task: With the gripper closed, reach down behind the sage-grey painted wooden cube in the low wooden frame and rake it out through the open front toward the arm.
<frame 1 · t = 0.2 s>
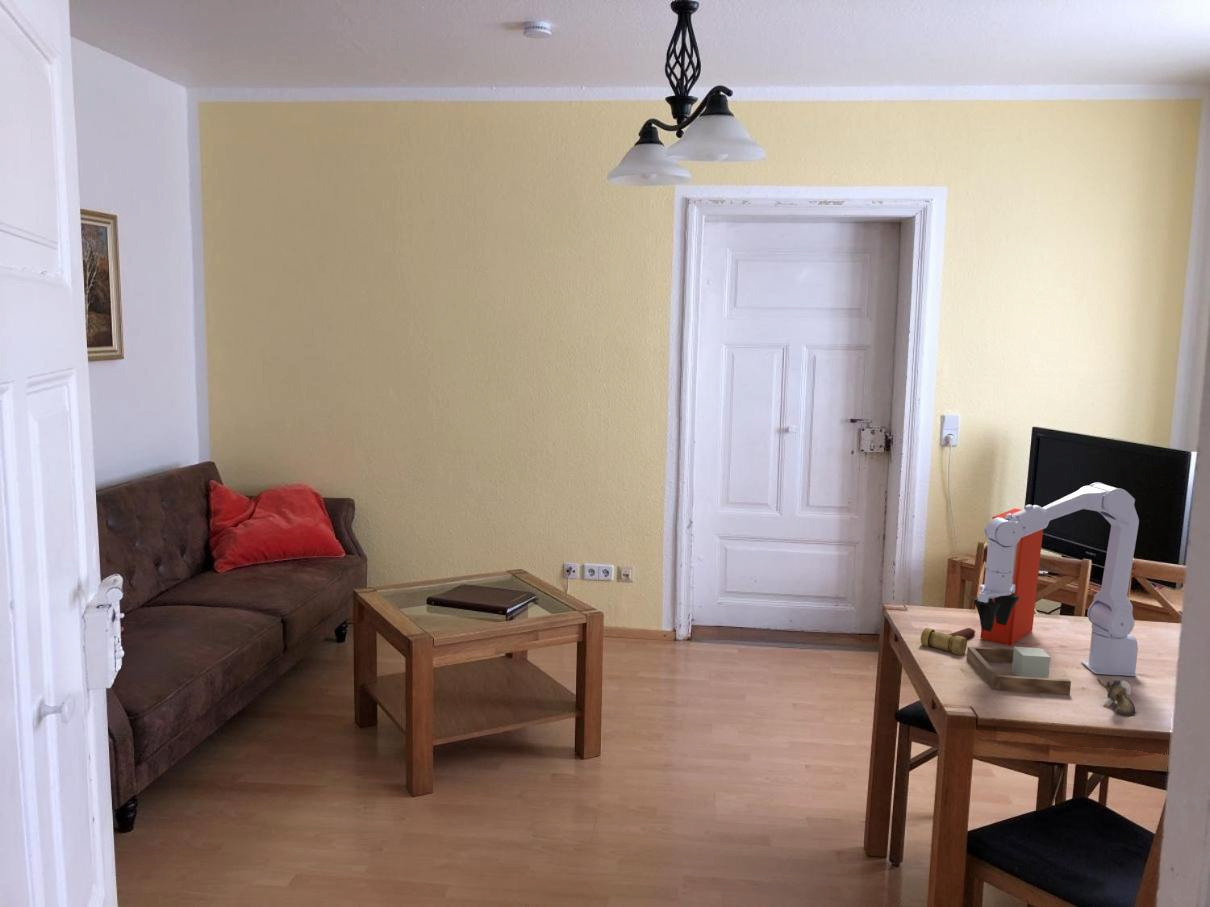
hand: (993, 627, 224), 10 cm above the table, tool pointing down, fingers open, 7 cm apart
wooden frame: (1018, 675, 220), on the table
gavel: (956, 644, 244), on the table
cube: (1029, 676, 220), on the table
file binder: (1007, 636, 250), on the table
eagle figurine: (1115, 709, 203), on the table
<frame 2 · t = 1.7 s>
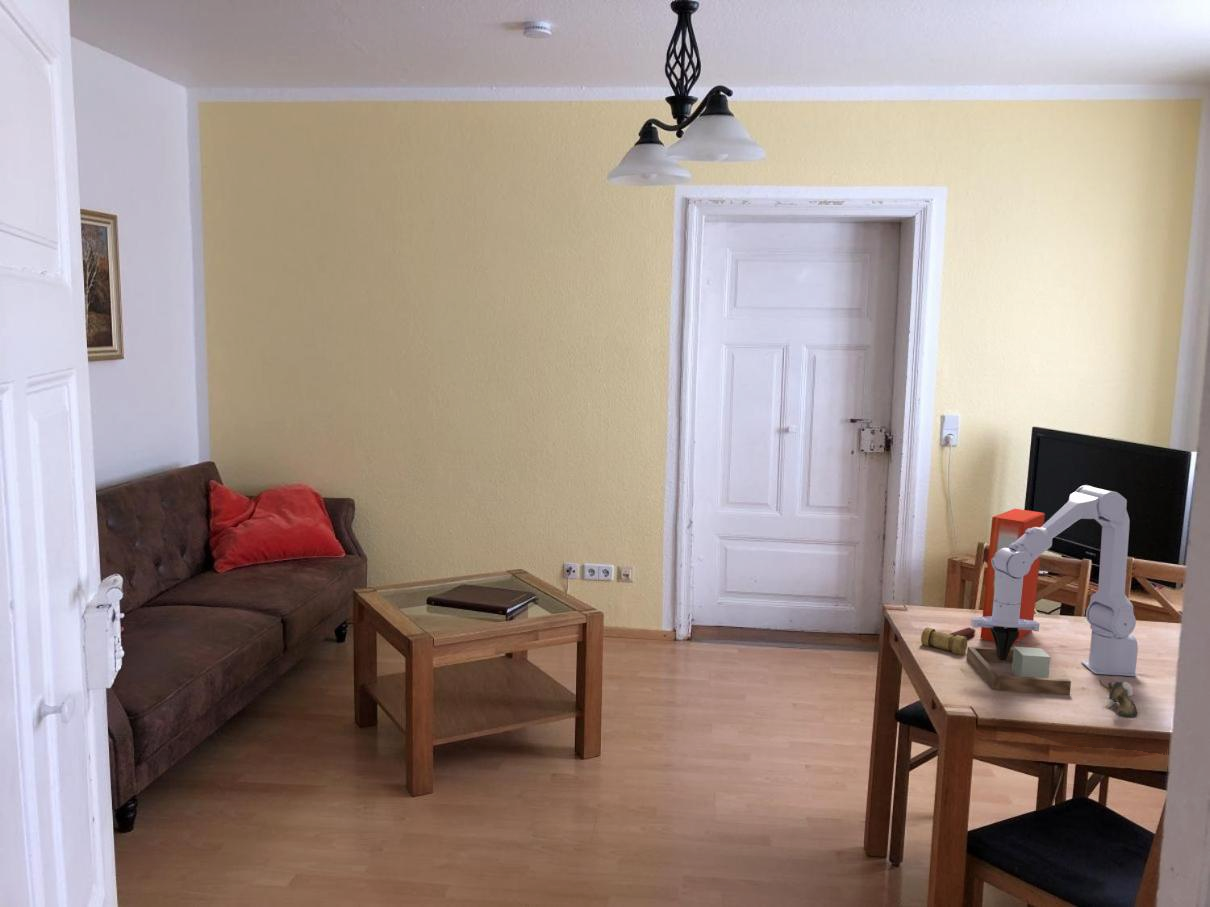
hand: (1001, 659, 220), 4 cm above the table, tool pointing down, fingers closed
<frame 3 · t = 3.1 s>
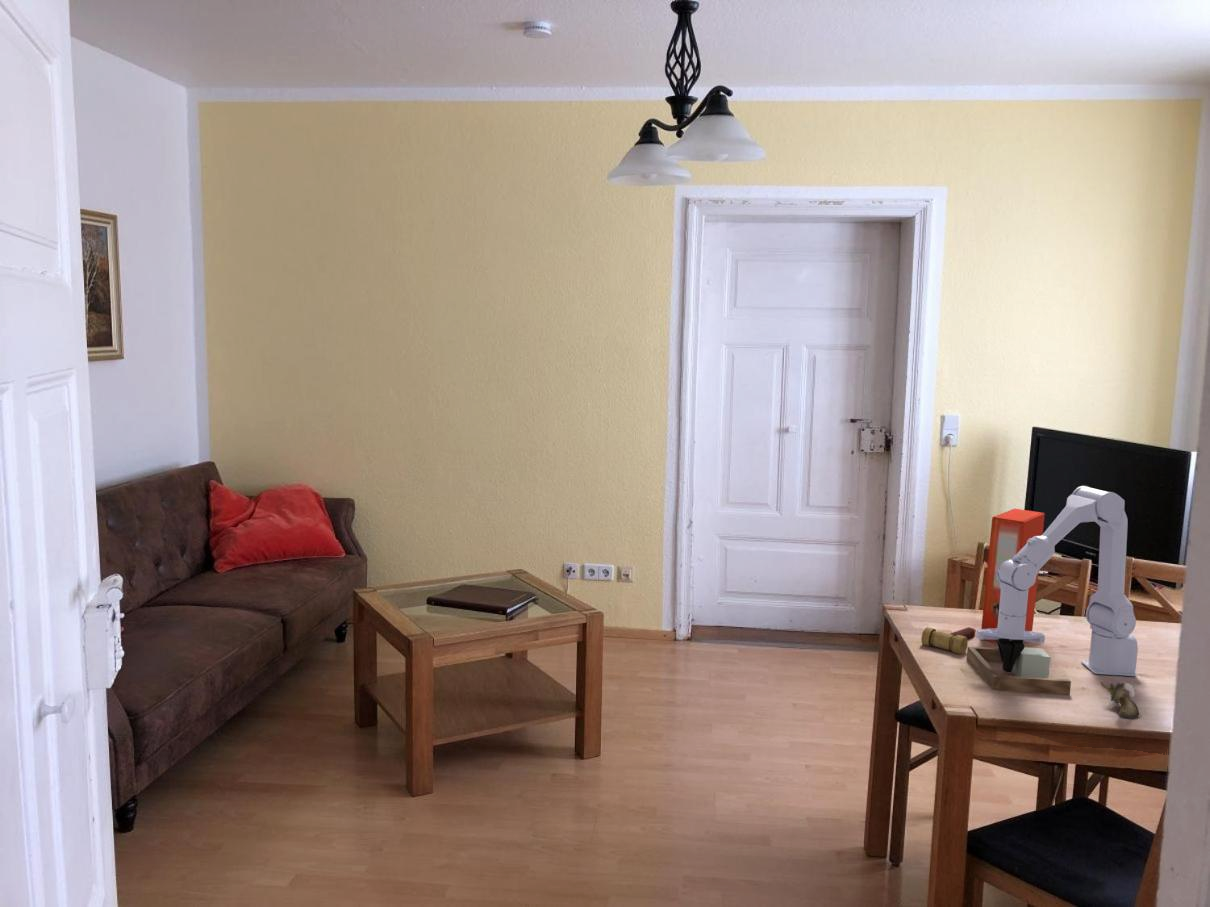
hand: (1007, 670, 220), 1 cm above the table, tool pointing down, fingers closed
cube: (1029, 676, 220), on the table, touching gripper
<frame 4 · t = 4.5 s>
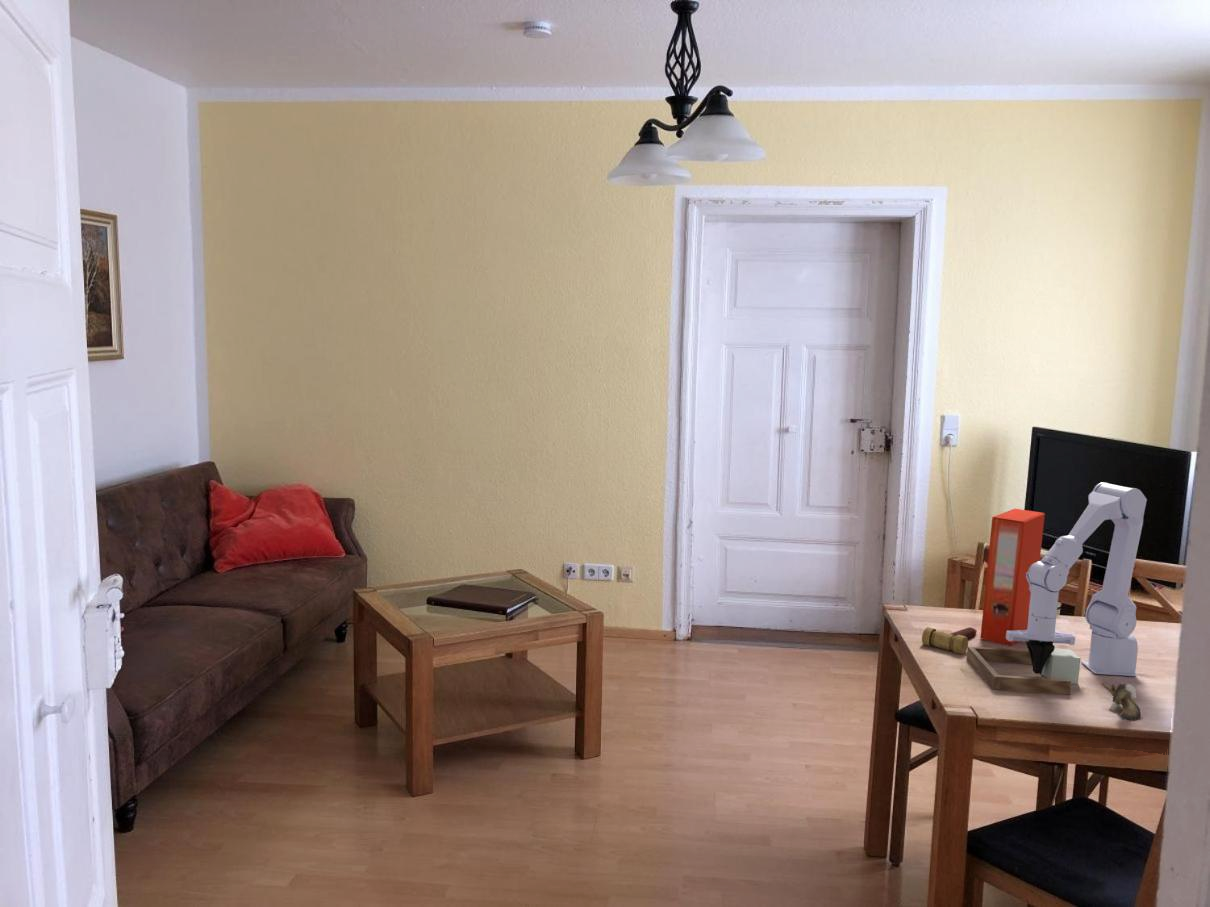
hand: (1036, 672, 220), 1 cm above the table, tool pointing down, fingers closed
cube: (1059, 678, 220), on the table, touching gripper
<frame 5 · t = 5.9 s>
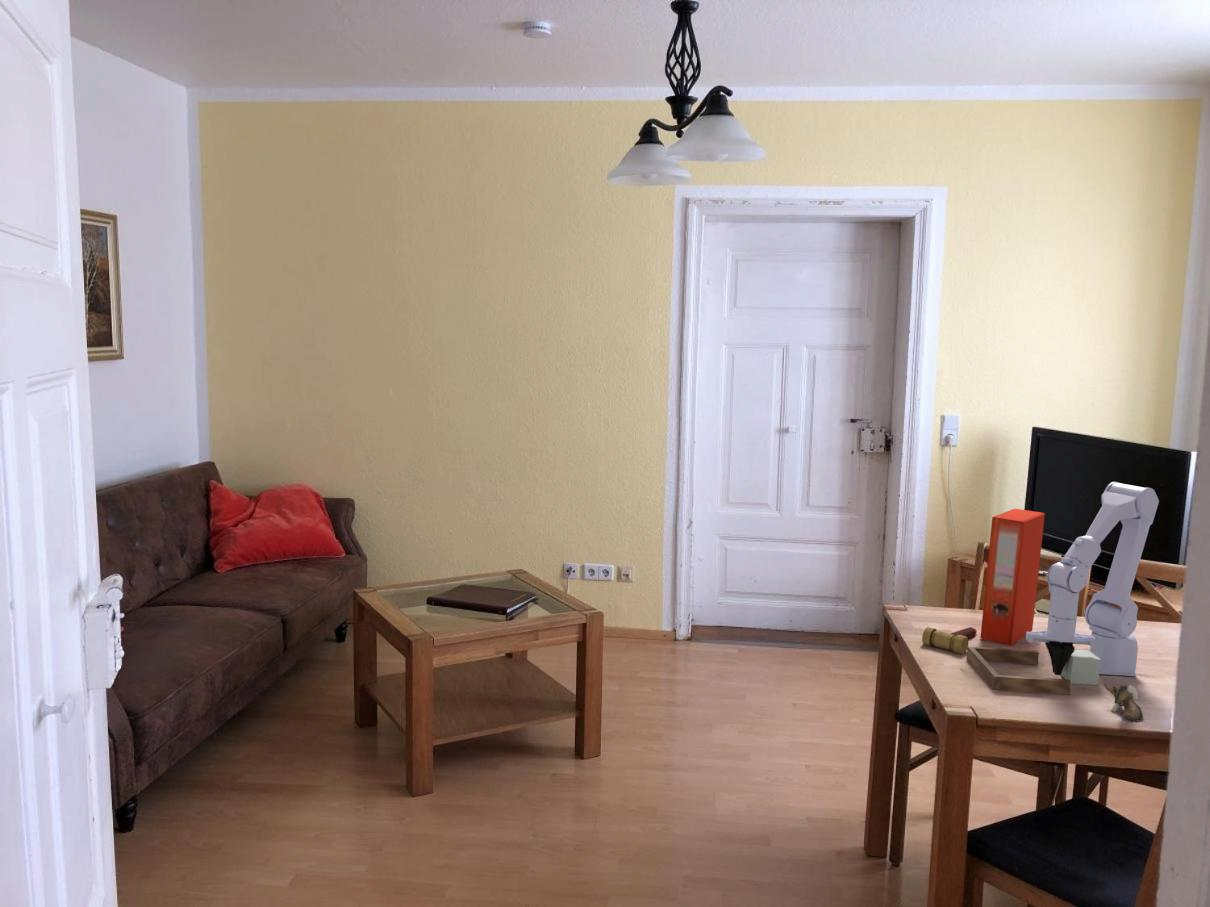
hand: (1056, 673, 220), 1 cm above the table, tool pointing down, fingers closed
cube: (1078, 679, 219), on the table, touching gripper
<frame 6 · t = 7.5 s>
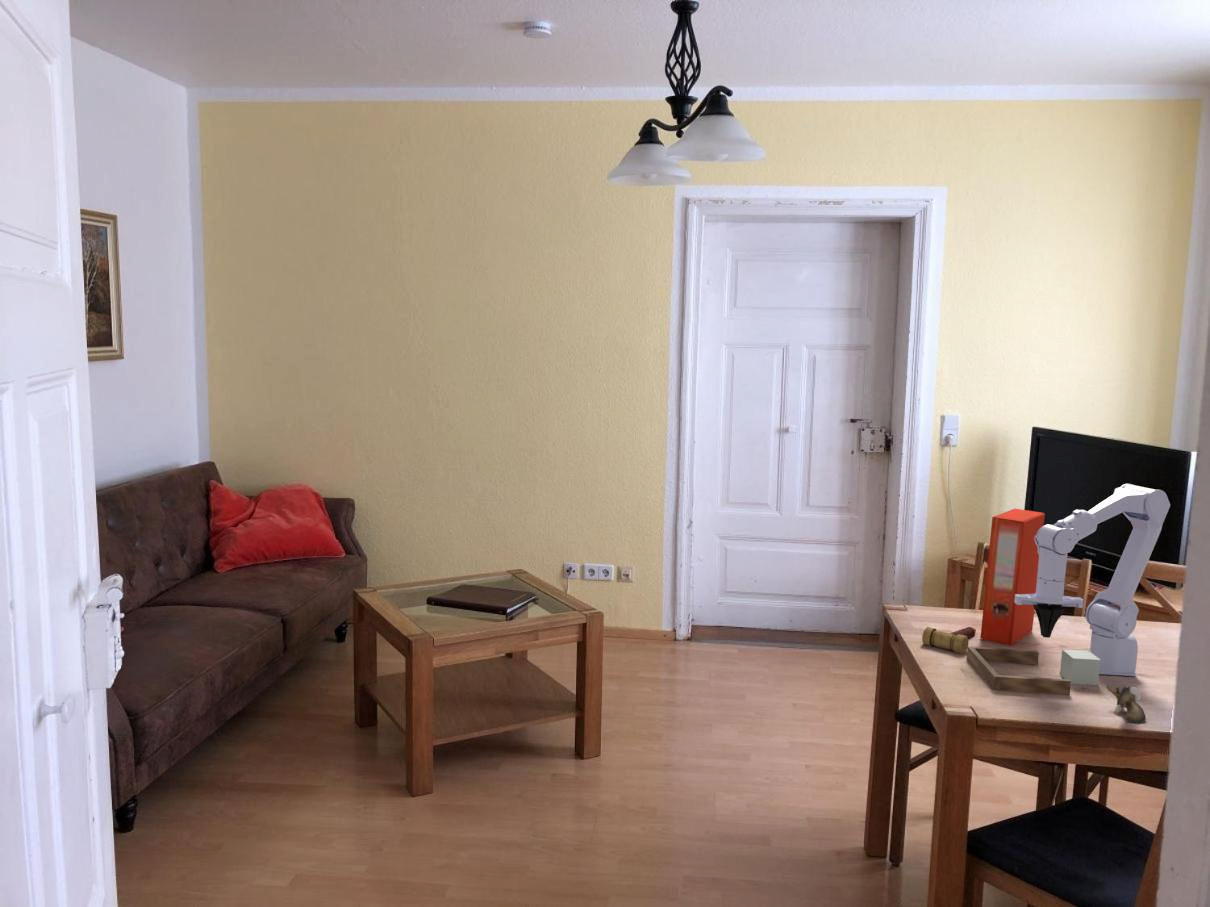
hand: (1045, 636, 220), 9 cm above the table, tool pointing down, fingers closed
cube: (1078, 680, 219), on the table
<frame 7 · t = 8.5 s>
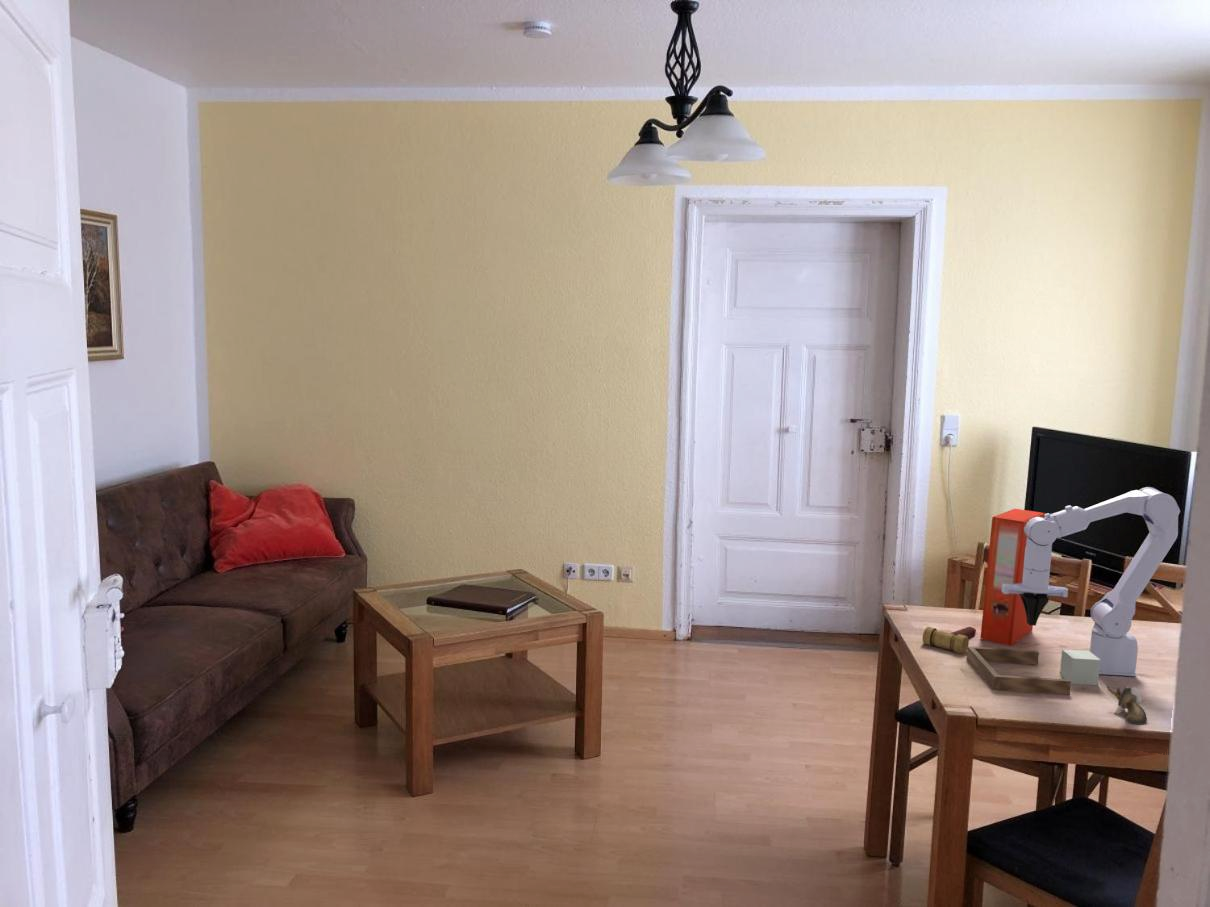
hand: (1031, 624, 229), 9 cm above the table, tool pointing down, fingers closed
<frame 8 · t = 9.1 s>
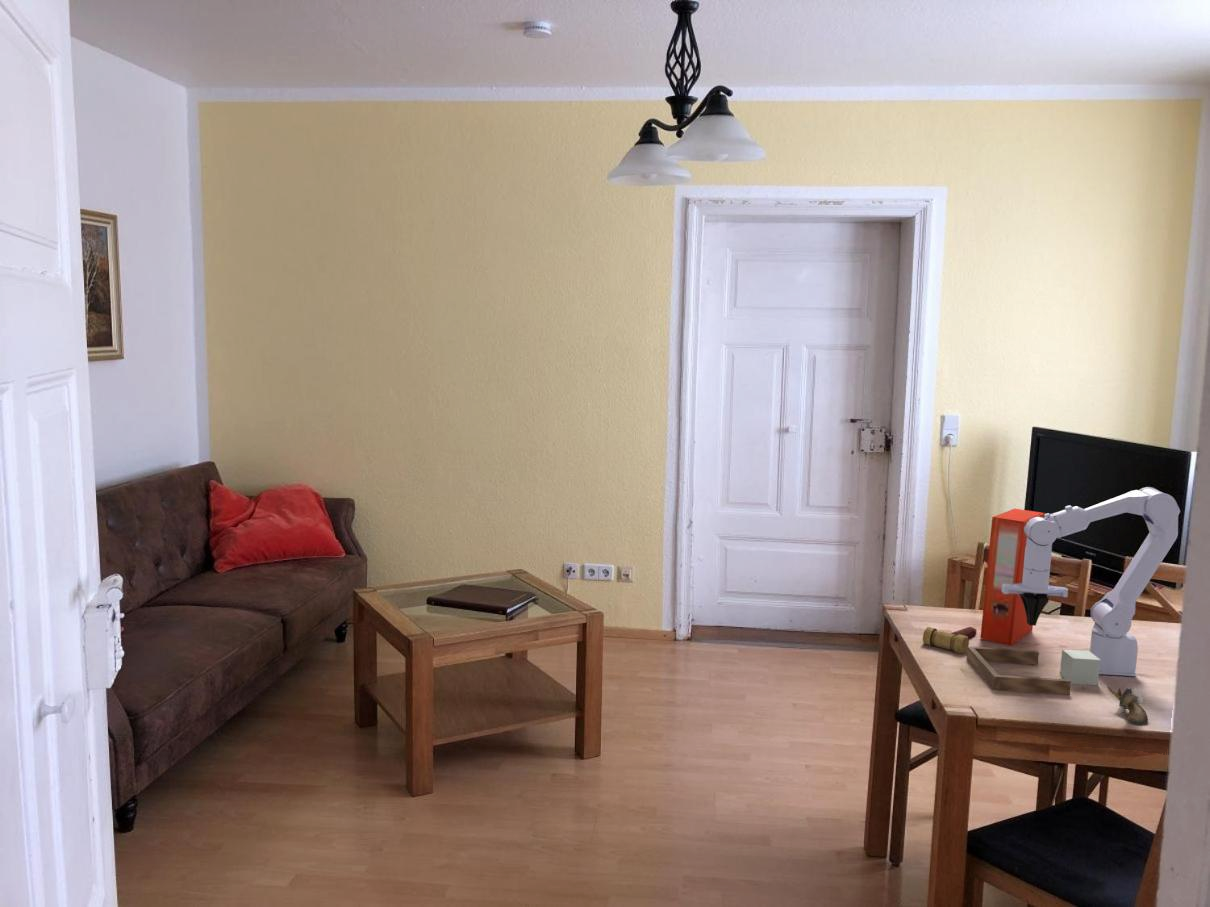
hand: (1031, 624, 229), 9 cm above the table, tool pointing down, fingers closed
at the end: cube inside the target area (1.4 cm from its centre), on the table; cube tilted 0° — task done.
